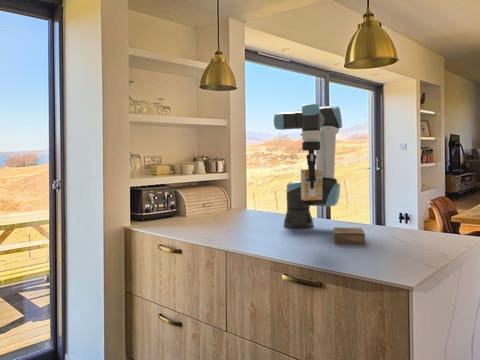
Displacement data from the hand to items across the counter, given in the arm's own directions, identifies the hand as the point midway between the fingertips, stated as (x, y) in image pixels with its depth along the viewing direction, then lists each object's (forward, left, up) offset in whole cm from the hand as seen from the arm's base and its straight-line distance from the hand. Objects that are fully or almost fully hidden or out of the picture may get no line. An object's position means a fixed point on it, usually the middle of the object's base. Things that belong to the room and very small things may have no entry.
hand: (311, 195), depth 173 cm
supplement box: (0, 0, -2) cm, 2 cm away
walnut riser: (0, +15, -20) cm, 25 cm away
